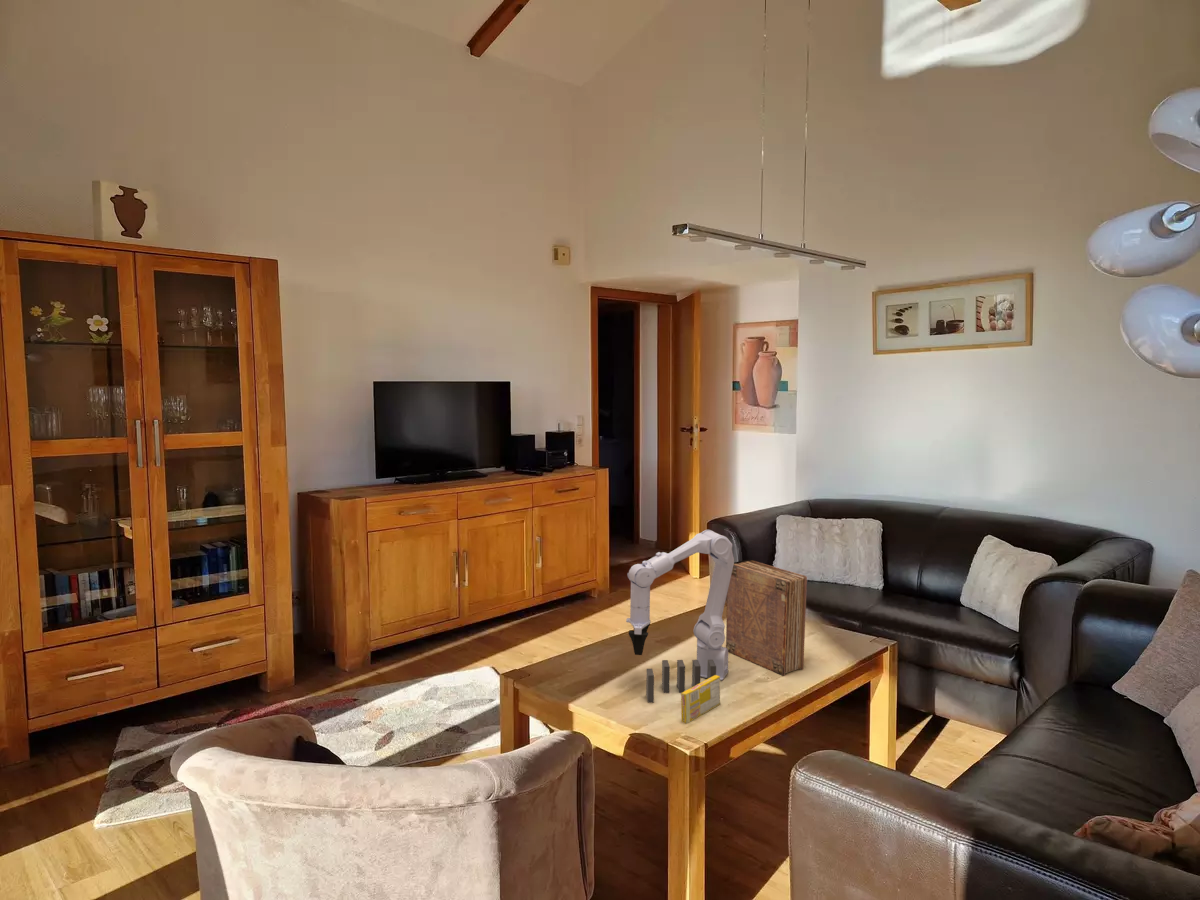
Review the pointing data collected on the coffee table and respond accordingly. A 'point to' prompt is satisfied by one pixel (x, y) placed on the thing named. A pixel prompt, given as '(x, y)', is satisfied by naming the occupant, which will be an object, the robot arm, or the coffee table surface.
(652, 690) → the domino
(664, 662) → the domino
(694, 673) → the domino
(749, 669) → the coffee table surface
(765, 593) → the book
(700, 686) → the candy box
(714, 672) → the domino
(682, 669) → the domino
